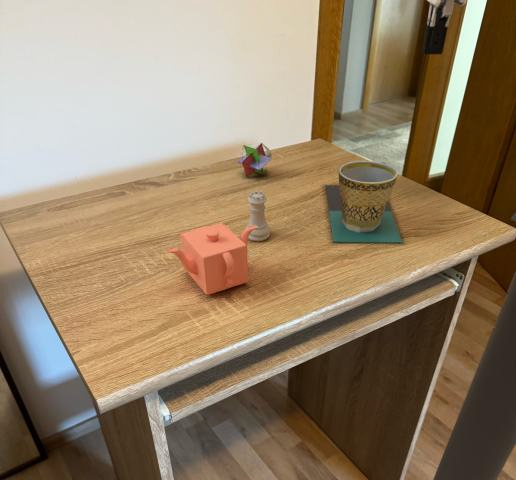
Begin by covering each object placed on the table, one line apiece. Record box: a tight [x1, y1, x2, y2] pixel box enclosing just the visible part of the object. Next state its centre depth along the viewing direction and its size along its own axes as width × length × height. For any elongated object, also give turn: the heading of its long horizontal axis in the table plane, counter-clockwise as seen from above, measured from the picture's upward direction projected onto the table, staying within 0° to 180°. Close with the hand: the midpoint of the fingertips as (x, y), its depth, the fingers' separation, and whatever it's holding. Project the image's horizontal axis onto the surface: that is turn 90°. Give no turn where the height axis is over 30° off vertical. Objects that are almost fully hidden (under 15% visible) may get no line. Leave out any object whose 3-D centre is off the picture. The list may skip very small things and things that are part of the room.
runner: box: [325, 184, 403, 244], centre depth 95 cm, size 12×24×1 cm, turn 177°
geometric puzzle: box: [237, 142, 273, 178], centre depth 107 cm, size 7×7×8 cm
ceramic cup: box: [338, 160, 398, 233], centre depth 88 cm, size 13×10×10 cm
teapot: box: [165, 222, 257, 296], centre depth 75 cm, size 12×15×8 cm
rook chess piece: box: [245, 190, 271, 242], centre depth 85 cm, size 4×4×8 cm
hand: (431, 53), depth 85 cm, fingers closed
